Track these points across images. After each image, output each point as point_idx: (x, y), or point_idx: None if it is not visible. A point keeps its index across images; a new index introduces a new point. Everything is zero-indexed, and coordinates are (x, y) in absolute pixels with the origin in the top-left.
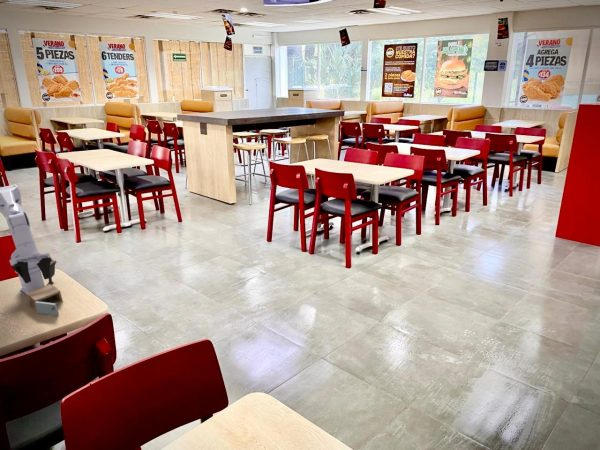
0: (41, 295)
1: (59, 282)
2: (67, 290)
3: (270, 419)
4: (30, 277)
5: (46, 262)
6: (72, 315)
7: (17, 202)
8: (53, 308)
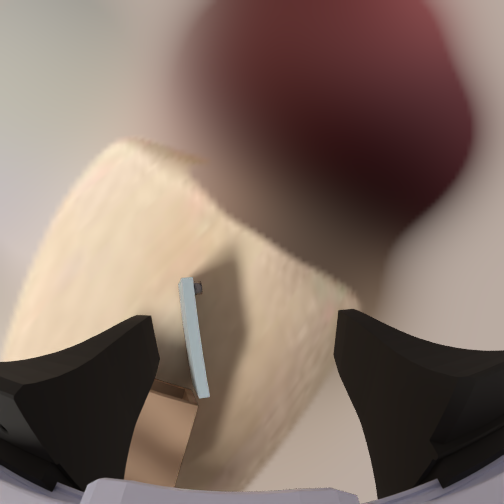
0: (150, 420)
1: None
2: None
3: None
4: None
5: (61, 373)
6: (164, 228)
7: None
8: (200, 281)
